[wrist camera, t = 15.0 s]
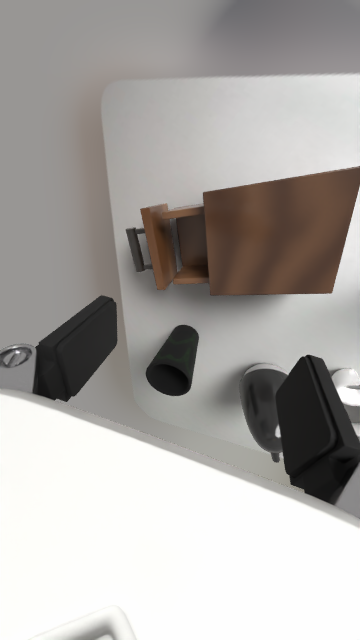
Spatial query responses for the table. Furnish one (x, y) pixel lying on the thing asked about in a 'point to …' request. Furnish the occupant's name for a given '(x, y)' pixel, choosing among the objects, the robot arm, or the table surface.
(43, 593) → the robot arm
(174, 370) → the cup
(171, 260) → the drawer
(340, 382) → the stomach
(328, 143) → the table surface
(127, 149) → the table surface
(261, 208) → the cabinet
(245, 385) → the pump dispenser
